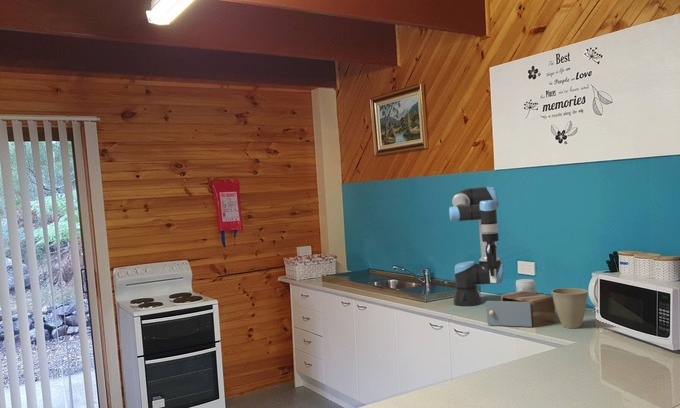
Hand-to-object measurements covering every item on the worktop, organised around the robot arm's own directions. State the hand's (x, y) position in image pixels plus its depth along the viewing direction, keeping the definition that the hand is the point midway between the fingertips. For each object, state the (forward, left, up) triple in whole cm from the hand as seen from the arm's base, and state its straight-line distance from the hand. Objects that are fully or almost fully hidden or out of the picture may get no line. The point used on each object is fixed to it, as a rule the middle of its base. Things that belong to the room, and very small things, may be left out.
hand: (493, 282), depth 254 cm
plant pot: (+26, +20, -20) cm, 38 cm away
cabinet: (+6, +14, -20) cm, 25 cm away
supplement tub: (-13, +33, -20) cm, 40 cm away
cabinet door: (+9, 0, -19) cm, 21 cm away
